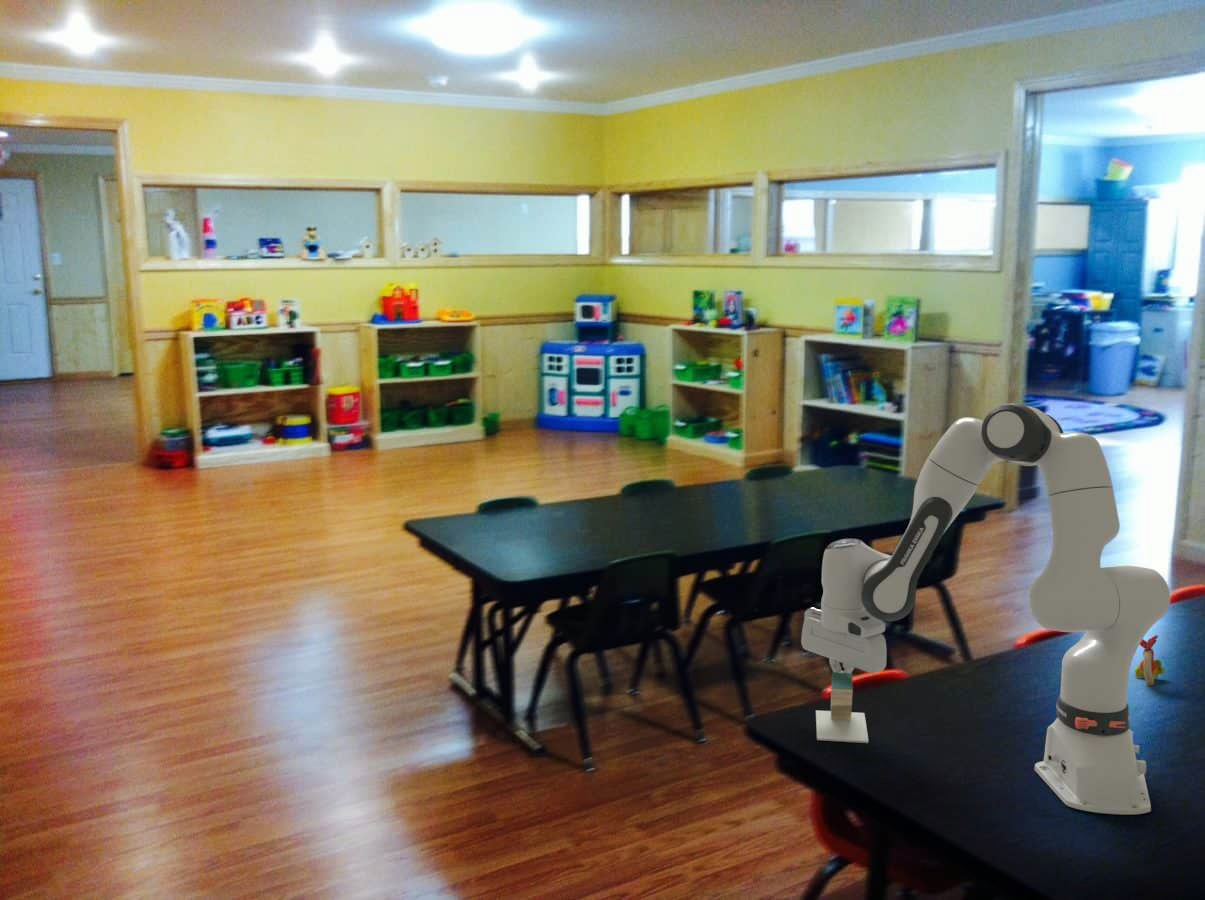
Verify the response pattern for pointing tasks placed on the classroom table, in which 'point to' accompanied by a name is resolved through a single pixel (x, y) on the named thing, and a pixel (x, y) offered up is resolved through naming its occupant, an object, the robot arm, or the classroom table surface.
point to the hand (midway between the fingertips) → (841, 680)
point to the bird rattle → (1149, 663)
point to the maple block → (841, 696)
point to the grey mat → (841, 728)
